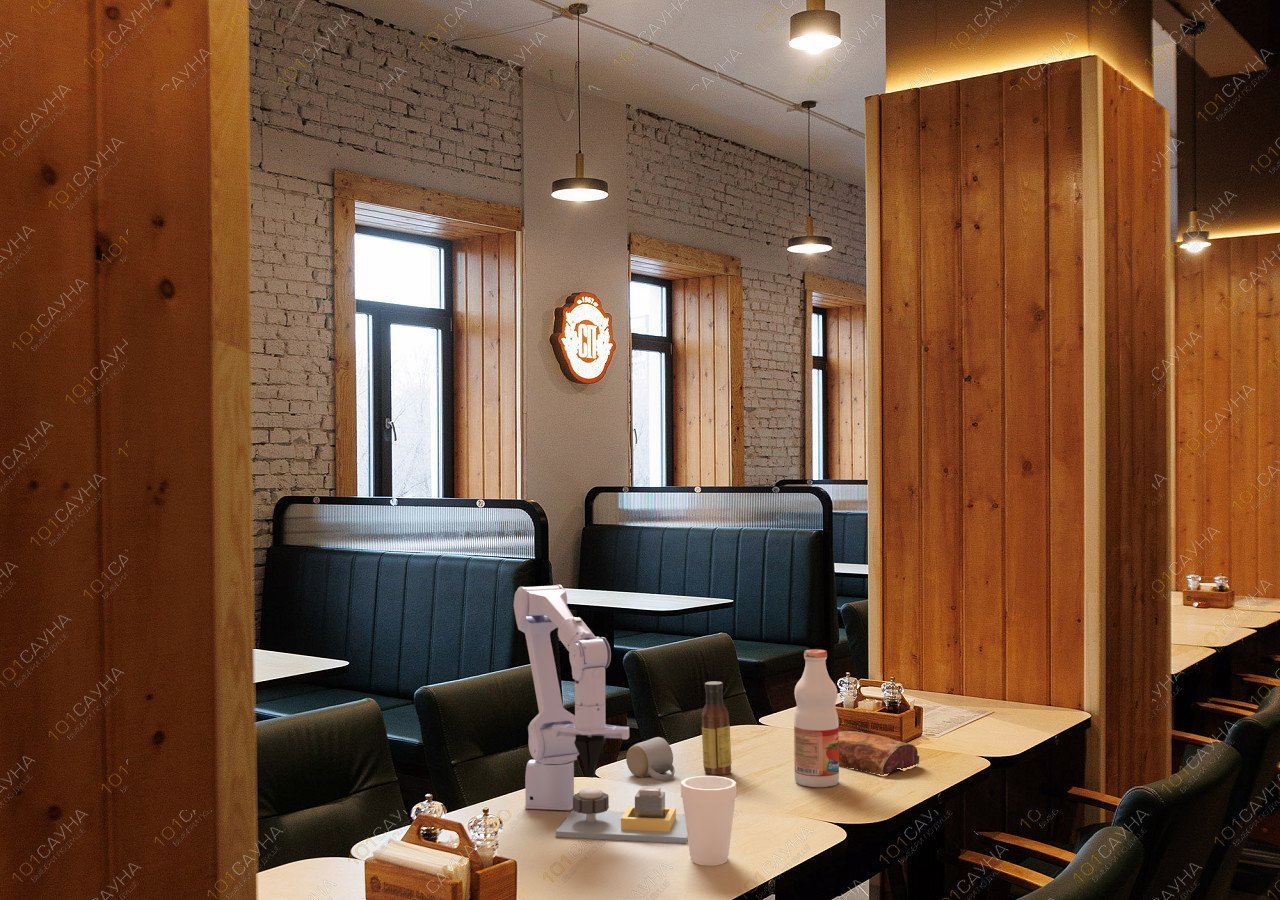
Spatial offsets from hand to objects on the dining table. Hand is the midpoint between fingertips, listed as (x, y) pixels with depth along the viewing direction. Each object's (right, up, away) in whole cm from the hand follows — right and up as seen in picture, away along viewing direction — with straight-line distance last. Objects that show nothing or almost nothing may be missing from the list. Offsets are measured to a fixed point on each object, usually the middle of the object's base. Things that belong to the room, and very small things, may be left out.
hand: (590, 776), depth 216 cm
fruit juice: (+47, -10, +30) cm, 57 cm away
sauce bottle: (+26, -10, +39) cm, 48 cm away
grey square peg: (+11, -8, -2) cm, 14 cm away
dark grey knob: (0, -6, 0) cm, 6 cm away
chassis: (+7, -9, -1) cm, 12 cm away
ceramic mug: (+12, -11, +37) cm, 40 cm away
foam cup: (+21, -9, -19) cm, 30 cm away
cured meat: (+60, -11, +49) cm, 79 cm away
